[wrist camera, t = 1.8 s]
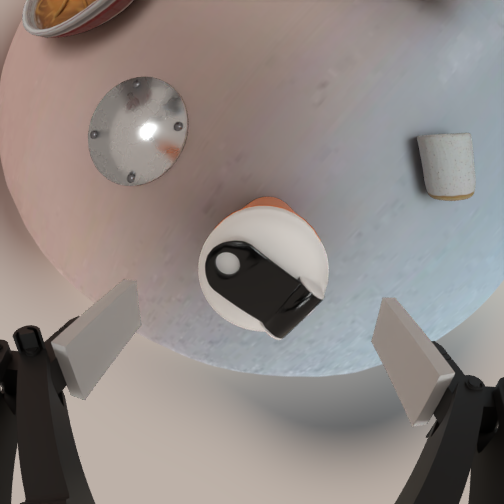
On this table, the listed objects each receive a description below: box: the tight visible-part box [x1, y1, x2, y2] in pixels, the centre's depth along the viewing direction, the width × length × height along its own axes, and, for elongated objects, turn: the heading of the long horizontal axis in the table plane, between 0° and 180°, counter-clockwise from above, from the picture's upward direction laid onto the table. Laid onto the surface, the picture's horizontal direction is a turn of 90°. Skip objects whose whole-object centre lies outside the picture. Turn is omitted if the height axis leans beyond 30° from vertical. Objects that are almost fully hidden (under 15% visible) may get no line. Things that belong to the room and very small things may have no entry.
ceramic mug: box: [417, 133, 476, 201], centre depth 28 cm, size 11×8×8 cm
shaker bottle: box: [198, 197, 329, 340], centre depth 26 cm, size 9×9×20 cm
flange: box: [88, 77, 188, 186], centre depth 33 cm, size 15×15×1 cm
